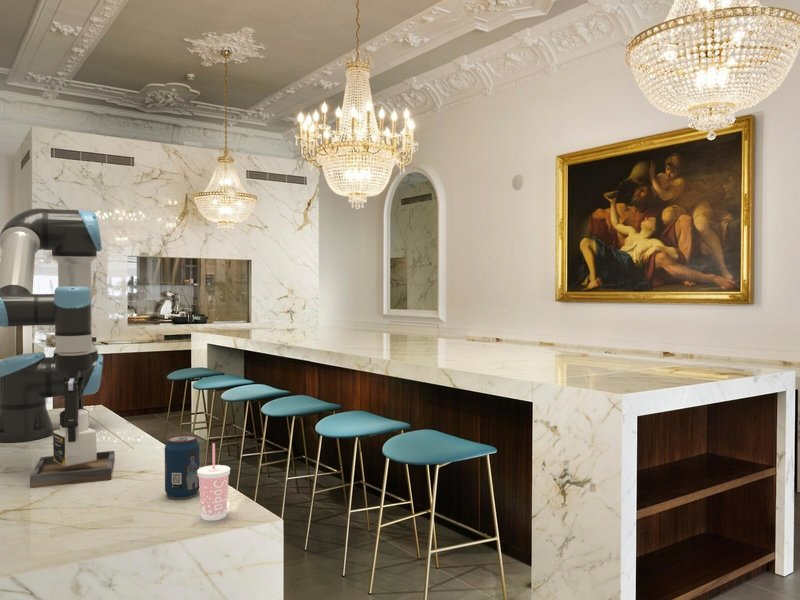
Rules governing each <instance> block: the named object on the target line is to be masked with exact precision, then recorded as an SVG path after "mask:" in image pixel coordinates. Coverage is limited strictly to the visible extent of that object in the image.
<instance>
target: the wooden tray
mask: <svg viewBox="0 0 800 600" xmlns="http://www.w3.org/2000/svg"><path fill="white" fill-rule="evenodd" d="M115 459H116V457H115V450H107V451H97V460H96V461H92V462H86V463H81V464H76V465H71V466H66V467H65V466H63V465H61V464H59V463H57V462H56V461H54V457H53V455H50V456H41V457H40V459H39V460H38V462H37V463H36V464H35V467H34V469H33V470H32V472H31V474H30V475H29V488H30V489H32V488H41V487H51V486H53V487H54V486H60V485H61V486H62V485H63V486H64V485H69V484H70V485H73V484H80V483H81V484H82V483H90V482H91V483H92V482H100V481H110V480H112V476H113V471H114V467H115Z"/></svg>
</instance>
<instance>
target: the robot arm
mask: <svg viewBox="0 0 800 600" xmlns="http://www.w3.org/2000/svg"><path fill="white" fill-rule="evenodd" d="M0 248H1V256H0V327H3V328H8V327H26V326H27V327H30V326H54V330H55V331H54V339H52V341H51V343H52V344H55V346H54V347H55V348H54V349H53V350H52V351H53V356H48V357H47V356H46V354H45V352H43V351H39V352H31V353H30V352H29V353H23V354H18V355H13V356H9V357H5V358H3V359H2V360H0V443H19V442H27V441H35V440H40V439H42V438H43V439H44V438H47V437H49V436H51V435H53V431H54V424H53V422H52V419H51V416H50V414H49V412H48V409H47V404H46V403H47V401H46V399H49V398H59V397H61V398H62V397H63V398H64V410H65V414H64V424H63V425H62V428H65V449H66V456H77V455H79V426H78V408H84V396H86V395H87V396H88V395H93V394H96V393H97V392H99V389H100V386H101V380H102V376H103V375H102V374H103V364H104V356H103V354H100V353H99V352H98V351H99V349H98V347H96V346H95V345H94V344H93V334H92V332H93V330H92V329H93V327H92V325H93V323H92V321H93V320H92V317H93V316H92V308H93V307H92V262H93V261H94V260H96V258H97V257H98V256H97V252H101V251H102V250H103V246H102V239H101V233H100V226H99V221H98V216H97V214H96V213H95V212H93V211H91V210H81V209H59V208H58V209H57V208H56V209H55V208H39V207H38V208H30V209H28V210H25V211H22V212H19V213H18V214H17V215H15V216H13V217H12V218H11V219H9V221H7V222H6V223H5V225H4V226H3V228H2V229H1V231H0ZM40 250H41V251H51V258H52V259H54V260H55V261H56V262H57V280H58V281H57V283H58V286H57V287H56V288H55V289H54V293H42V294H41V293H33V291H34V290H33V288H34V276H35V275H34V273H35V265H36V264H35V261H36V254H37V252H38V251H40ZM69 420H74V421H69Z"/></svg>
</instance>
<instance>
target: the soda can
mask: <svg viewBox="0 0 800 600" xmlns="http://www.w3.org/2000/svg"><path fill="white" fill-rule="evenodd" d="M200 459H201V458H200V443H199V441H198V439H197V436H196V435H192V434H177V435H173V436H169V437H168V438H167V442H166V444H165V445H164V492H165V493H166V495H167V496H168V498H170V499H173V500H183V499H184V500H186V499H189V498H191V497H194V496H196V495H197V493H198V492H199V491H200V489H199V477H198V476H197V474H198V473H197V470H198V469H199V468H201V467H200V464H201V463H200Z"/></svg>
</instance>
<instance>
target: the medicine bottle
mask: <svg viewBox="0 0 800 600" xmlns="http://www.w3.org/2000/svg"><path fill="white" fill-rule="evenodd" d="M89 413H90V411H89V410H88V409H86V408H84V407H83V408H78V426H79V455H77V456H66V449H65V428H62V425H63V424H64V414H65V409H64V410H62V411H60V413H59V429H55V430H54V429H53V434H52V436H53V437H52V439H53V440H52V441H53V443H52V444H53V445H52V446H53V447H52V449H53V450H52V451H53V455H52V456H53V457H54V461H56V462H57V463H59V464H61V465H63V466H65V467H66V466H71V465H76V464H81V463H86V462H92V461H96V460H97V452H98V450H97V430H96V429H93V428H91V427H89V426H90V414H89ZM69 421H74V420H69Z"/></svg>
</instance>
